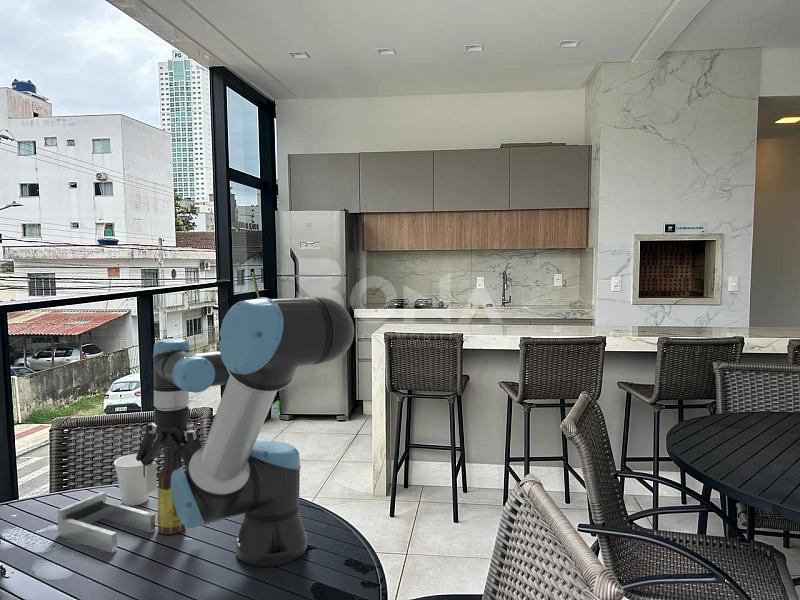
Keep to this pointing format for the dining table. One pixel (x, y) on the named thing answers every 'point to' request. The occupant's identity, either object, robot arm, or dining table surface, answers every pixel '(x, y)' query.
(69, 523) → the frame
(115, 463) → the cup
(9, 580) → the dining table surface
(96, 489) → the dining table surface
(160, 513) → the sauce bottle
